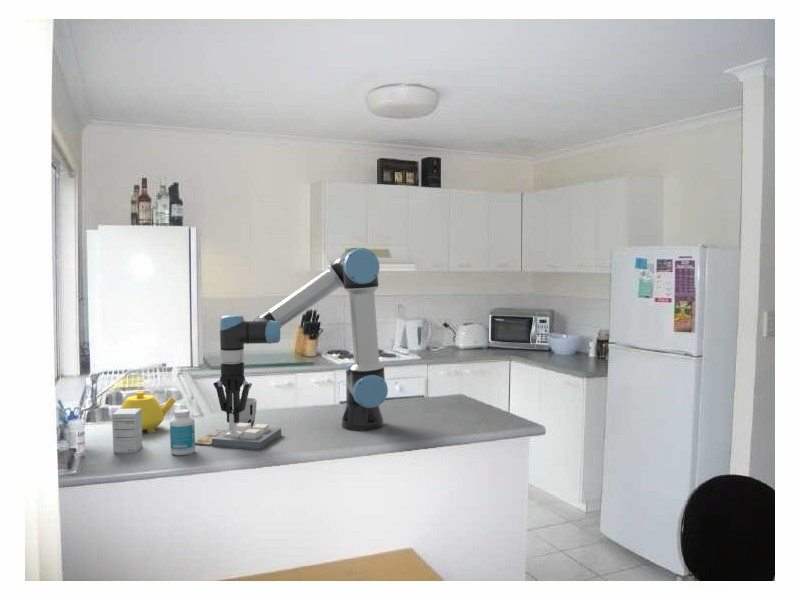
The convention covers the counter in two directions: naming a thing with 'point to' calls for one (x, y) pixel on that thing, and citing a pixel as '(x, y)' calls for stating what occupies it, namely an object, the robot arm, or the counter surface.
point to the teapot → (148, 409)
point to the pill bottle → (182, 433)
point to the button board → (246, 440)
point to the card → (208, 438)
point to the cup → (248, 412)
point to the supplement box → (127, 430)
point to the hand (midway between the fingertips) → (233, 432)
